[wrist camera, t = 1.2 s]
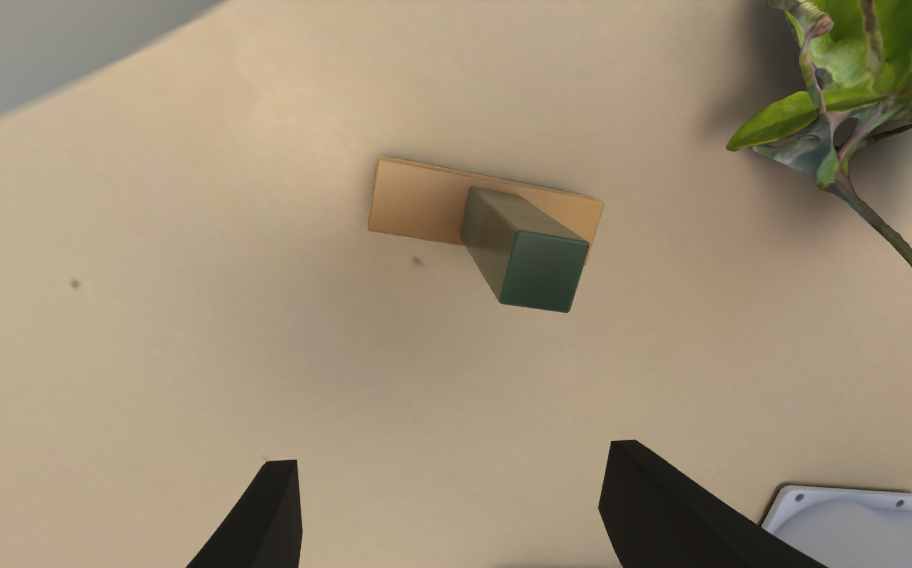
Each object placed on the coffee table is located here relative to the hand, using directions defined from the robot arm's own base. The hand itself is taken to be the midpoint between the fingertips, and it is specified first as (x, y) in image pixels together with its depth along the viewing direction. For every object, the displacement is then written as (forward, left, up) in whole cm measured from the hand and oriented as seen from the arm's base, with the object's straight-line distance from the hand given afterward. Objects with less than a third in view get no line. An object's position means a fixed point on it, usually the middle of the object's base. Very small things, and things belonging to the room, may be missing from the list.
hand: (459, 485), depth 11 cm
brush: (-1, -5, -10) cm, 11 cm away
